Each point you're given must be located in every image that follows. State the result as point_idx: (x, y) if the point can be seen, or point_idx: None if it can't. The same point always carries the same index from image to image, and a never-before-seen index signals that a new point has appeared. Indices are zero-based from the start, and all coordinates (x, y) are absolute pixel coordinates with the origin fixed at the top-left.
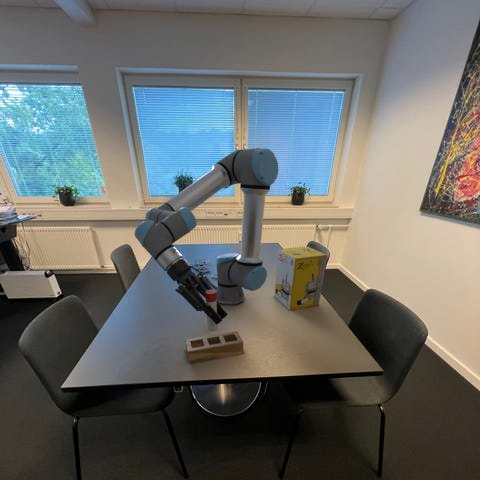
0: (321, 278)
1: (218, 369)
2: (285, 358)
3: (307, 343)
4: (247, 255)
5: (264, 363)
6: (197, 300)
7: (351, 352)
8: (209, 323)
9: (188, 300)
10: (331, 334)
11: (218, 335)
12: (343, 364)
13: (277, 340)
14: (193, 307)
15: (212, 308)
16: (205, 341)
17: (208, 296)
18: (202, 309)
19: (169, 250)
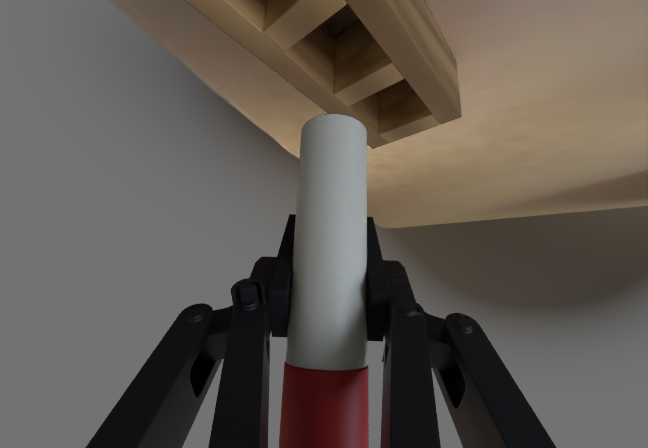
0: None
1: (238, 61)
2: (378, 172)
3: (450, 191)
4: None
5: None
6: (190, 414)
7: (423, 220)
8: (298, 183)
9: (102, 446)
10: (489, 209)
11: (402, 58)
12: (385, 215)
13: (465, 155)
14: (157, 346)
15: None
16: (307, 15)
17: (281, 415)
18: (231, 314)
19: None
